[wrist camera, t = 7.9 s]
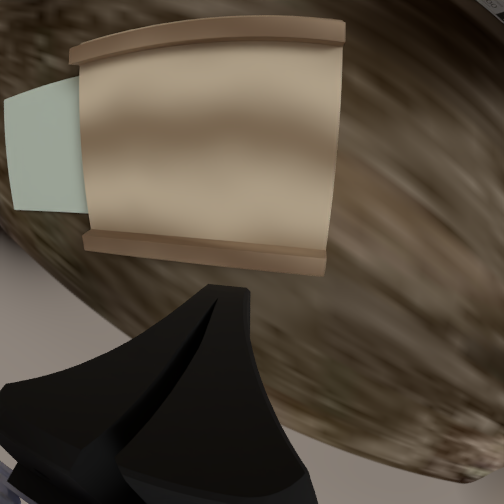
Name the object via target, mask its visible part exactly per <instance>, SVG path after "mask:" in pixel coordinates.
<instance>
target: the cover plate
mask: <svg viewBox="0 0 504 504" xmlns="http://www.w3.org/2000/svg"><path fill="white" fill-rule="evenodd" d="M4 120H5V139H6V152H7V162H8V171H9V179H10V186H11V192H12V198H13V204H14V209H15V210H33V211H54V212H73V213H88V206H87V199H86V192H85V183H84V174H83V164H82V152H81V137H80V113H79V76H77V77H73V78H69V79H66V80H62V81H58V82H55V83H52V84H48V85H45V86H42V87H39V88H36V89H33V90H30V91H27V92H24V93H21V94H18V95H16V96H13V97H10V98H8V99H5V100H4Z"/></svg>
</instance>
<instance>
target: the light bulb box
mask: <svg viewBox="0 0 504 504" xmlns="http://www.w3.org/2000/svg"><path fill="white" fill-rule="evenodd" d="M476 1H478V2H479V3H480V4H481V5H483V6H484V7H485V8H486V9H487V10H489V11H490V12H491V13H492V14H493V15H494V16H496V17H497V18H498V19H499V20H500V21H501V22H502V23H503V24H504V0H476Z"/></svg>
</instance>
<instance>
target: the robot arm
mask: <svg viewBox="0 0 504 504" xmlns="http://www.w3.org/2000/svg"><path fill="white" fill-rule="evenodd" d="M0 445H1V446H2V447H3V448H4V449H5V450H6V451H7V452H8V453H9V454H10V455H11V456H12V457H13V458H14V459H15V460H16V461H17V462H18V463H17V464H16V466H15V468H14V469H13V470H12V469H10V468H9V467H8V466H6V465H5V464H4V463H2V462H1V461H0V504H21V501H20V498H22V499H23V500H24V501H26V502H27V503H29V504H318V501H317V498H316V495H315V491H314V488H313V485H312V482H311V479H310V475H309V472H308V470H307V468H306V467H305V465H304V464H303V462H302V461H301V459H300V458H299V456H298V454H297V453H296V451H295V449H294V448H293V446H292V445H291V443H290V441H289V439H288V437H287V436H286V434H285V432H284V430H283V428H282V426H281V424H280V423H279V420H278V418H277V416H276V414H275V412H274V410H273V407H272V405H271V403H270V401H269V399H268V396H267V394H266V391H265V389H264V386H263V383H262V381H261V378H260V375H259V372H258V369H257V365H256V362H255V358H254V354H253V350H252V346H251V341H250V291H249V290H248V289H247V288H242V287H232V286H222V285H212V284H208V285H206V286H205V287H204V288H202V289H201V290H200V291H199V292H197V293H196V294H195V295H194V296H192V297H191V298H190V299H189V300H187V301H186V302H185V303H184V304H182V305H181V306H180V307H178V308H177V309H176V310H175V311H173V312H172V313H171V314H169V315H168V316H167V317H165V318H164V319H162V320H161V321H159V322H158V323H156V324H155V325H153V326H152V327H150V328H149V329H148V330H146V331H145V332H143V333H142V334H140V335H138V336H137V337H135V338H133V339H132V340H130V341H129V342H127V343H124V344H123V345H121V346H119V347H117V348H115V349H113V350H111V351H109V352H107V353H105V354H103V355H100V356H98V357H96V358H94V359H91V360H89V361H87V362H84V363H82V364H79V365H77V366H74V367H71V368H69V369H65V370H63V371H59V372H56V373H53V374H49V375H46V376H42V377H38V378H33V379H29V380H24V381H19V382H15V383H8V384H5V385H4V387H3V388H2V389H1V391H0ZM19 497H20V498H19Z"/></svg>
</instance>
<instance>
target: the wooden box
mask: <svg viewBox="0 0 504 504" xmlns="http://www.w3.org/2000/svg"><path fill="white" fill-rule="evenodd" d="M344 44H345V22H343V21H342V20H334V19H325V18H314V17H301V16H277V15H250V16H226V17H212V18H201V19H192V20H184V21H177V22H170V23H164V24H158V25H152V26H147V27H142V28H137V29H133V30H128V31H124V32H120V33H116V34H112V35H108V36H104V37H101V38H97V39H94V40H91V41H87V42H84V43H81V45H78V46H75V47H72V48H70V52H69V65H80V72H79V113H80V137H81V152H82V164H83V174H84V183H85V192H86V199H87V206H88V213H89V220H90V226H91V229H90V230H89V231H88V232H86V233H85V234H83V235H82V238H83V243H84V248H85V250H86V251H94V252H102V253H110V254H118V255H126V256H135V257H143V258H151V259H160V260H169V261H177V262H186V263H195V264H204V265H214V266H223V267H232V268H242V269H251V270H261V271H271V272H281V273H291V274H301V275H312V276H322V277H324V273H325V267H326V260H327V257H326V244H327V237H328V229H329V221H330V213H331V205H332V196H333V187H334V178H335V168H336V157H337V145H338V133H339V118H340V102H341V82H342V49H343V45H344Z"/></svg>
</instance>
